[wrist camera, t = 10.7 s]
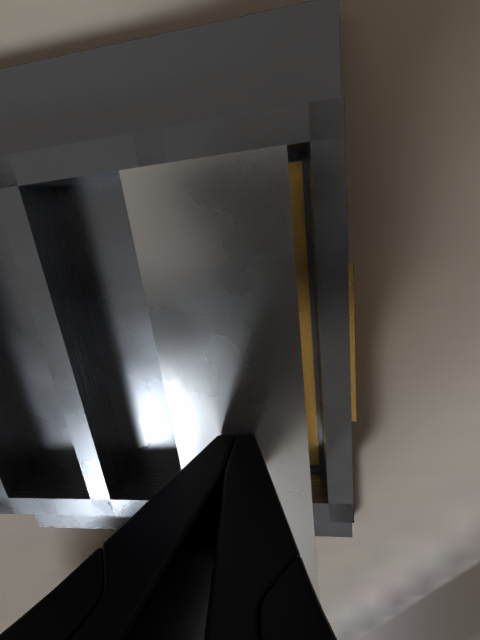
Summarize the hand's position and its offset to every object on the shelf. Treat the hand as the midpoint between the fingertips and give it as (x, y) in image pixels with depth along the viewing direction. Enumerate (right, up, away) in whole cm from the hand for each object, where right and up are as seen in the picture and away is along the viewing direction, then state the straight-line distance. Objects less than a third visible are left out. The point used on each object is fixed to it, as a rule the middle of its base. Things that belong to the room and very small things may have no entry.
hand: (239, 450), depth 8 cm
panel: (+1, +2, +7) cm, 7 cm away
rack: (-4, +2, +8) cm, 10 cm away
